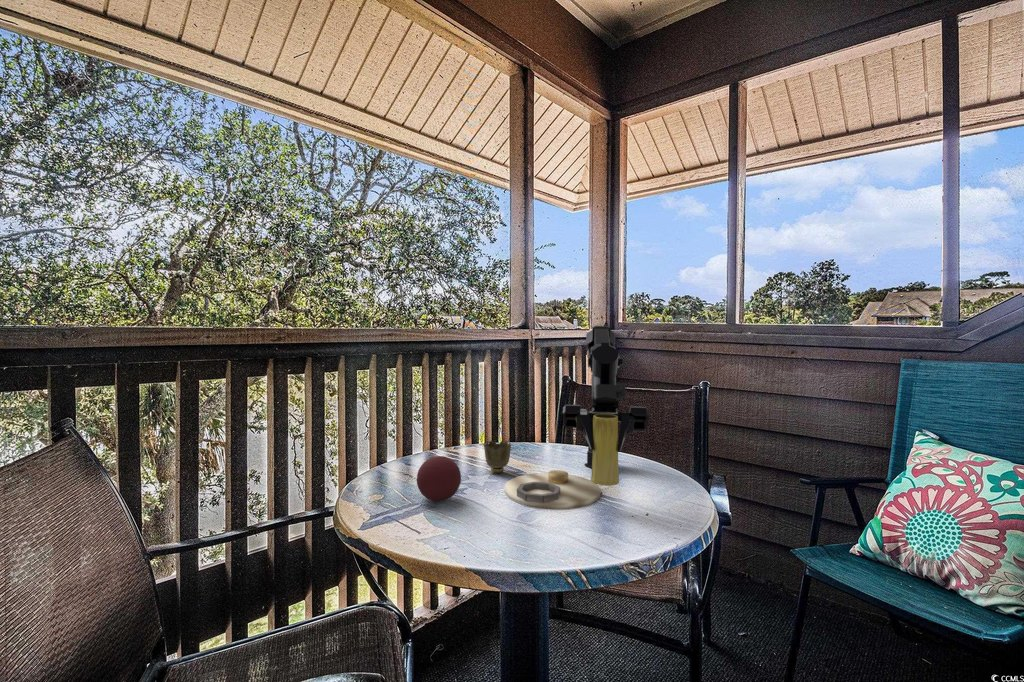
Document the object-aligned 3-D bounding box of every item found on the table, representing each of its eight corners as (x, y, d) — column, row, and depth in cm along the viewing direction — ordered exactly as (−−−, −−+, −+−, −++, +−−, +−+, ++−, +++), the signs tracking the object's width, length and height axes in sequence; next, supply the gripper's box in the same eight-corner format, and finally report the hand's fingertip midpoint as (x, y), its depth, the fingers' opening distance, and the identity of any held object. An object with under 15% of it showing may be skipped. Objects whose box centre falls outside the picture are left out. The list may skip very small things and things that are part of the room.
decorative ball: (449, 510, 102) (449, 464, 102) (408, 505, 105) (408, 460, 105) (467, 495, 112) (468, 453, 111) (429, 490, 115) (429, 449, 115)
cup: (512, 469, 133) (512, 440, 133) (509, 477, 126) (509, 447, 126) (486, 468, 134) (486, 440, 134) (481, 476, 127) (481, 446, 127)
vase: (587, 483, 101) (588, 417, 101) (594, 475, 107) (595, 412, 107) (616, 487, 99) (616, 419, 99) (621, 478, 105) (622, 414, 104)
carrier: (561, 472, 131) (561, 461, 131) (621, 497, 111) (621, 484, 111) (487, 485, 119) (487, 473, 119) (539, 516, 99) (539, 501, 99)
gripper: (563, 369, 108) (560, 428, 97) (648, 370, 105) (655, 431, 94) (564, 398, 116) (562, 455, 105) (643, 400, 113) (649, 459, 102)
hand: (605, 450), depth 101 cm, fingers closed on vase, 5 cm apart
